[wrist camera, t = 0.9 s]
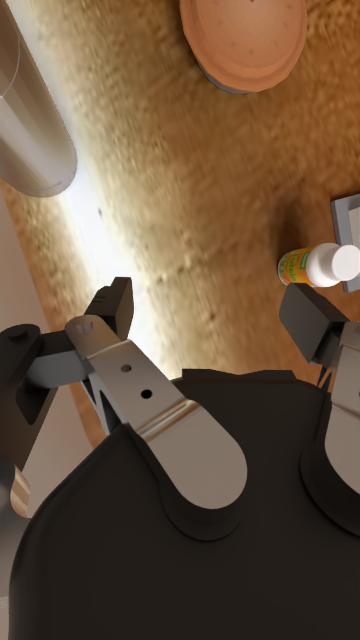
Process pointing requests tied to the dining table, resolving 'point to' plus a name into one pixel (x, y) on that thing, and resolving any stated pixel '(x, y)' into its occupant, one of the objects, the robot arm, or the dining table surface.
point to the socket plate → (347, 229)
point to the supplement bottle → (320, 265)
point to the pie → (245, 40)
